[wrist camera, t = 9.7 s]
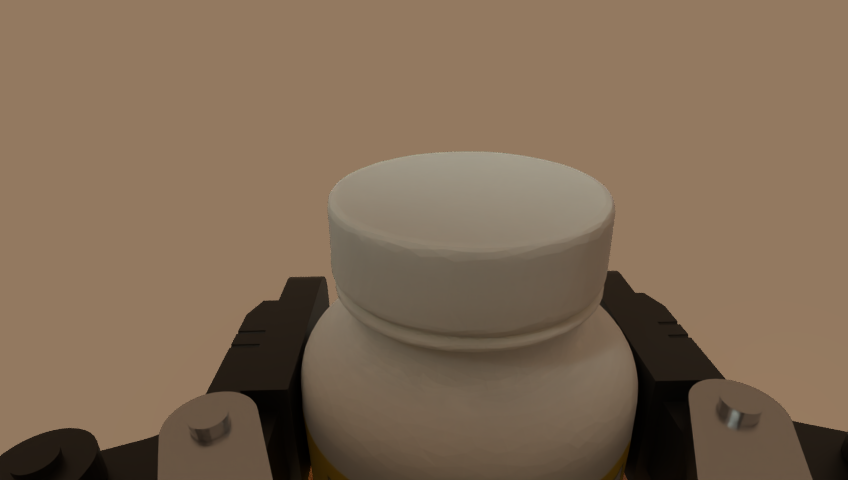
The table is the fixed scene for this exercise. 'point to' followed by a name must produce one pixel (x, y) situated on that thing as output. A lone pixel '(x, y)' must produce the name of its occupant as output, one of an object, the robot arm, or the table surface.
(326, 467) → the supplement bottle
